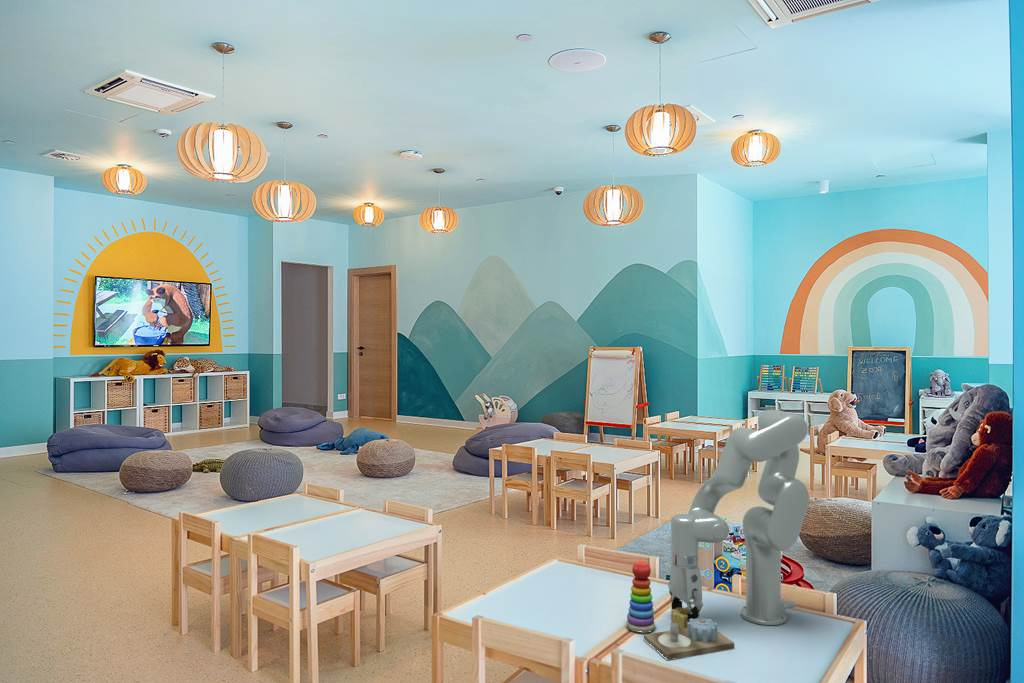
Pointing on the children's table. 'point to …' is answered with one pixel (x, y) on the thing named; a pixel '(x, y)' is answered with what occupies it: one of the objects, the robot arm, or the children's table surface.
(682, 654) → the gear board
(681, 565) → the robot arm
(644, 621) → the stacking toy
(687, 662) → the children's table surface
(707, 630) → the slate gear
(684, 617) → the ochre gear
